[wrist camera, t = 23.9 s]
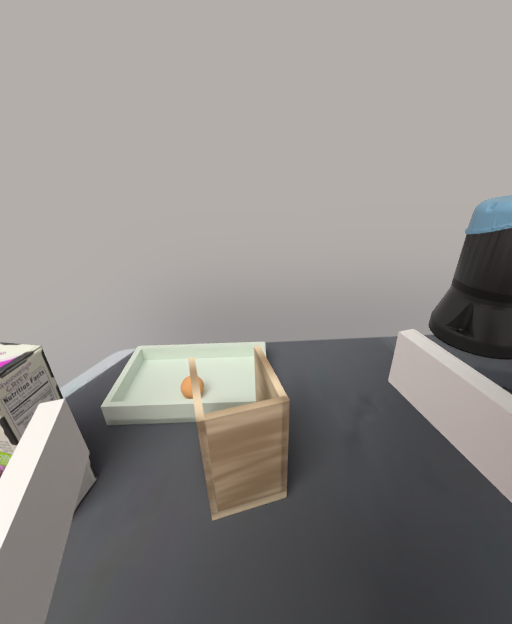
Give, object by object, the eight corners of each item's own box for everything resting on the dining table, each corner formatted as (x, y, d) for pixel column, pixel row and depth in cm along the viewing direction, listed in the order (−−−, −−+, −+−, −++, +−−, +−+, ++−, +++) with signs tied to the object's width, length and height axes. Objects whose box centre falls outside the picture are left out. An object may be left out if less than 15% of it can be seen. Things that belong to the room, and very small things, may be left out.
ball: (197, 398, 36) (212, 382, 38) (180, 381, 36) (195, 367, 38) (189, 407, 38) (203, 392, 40) (172, 391, 38) (187, 377, 40)
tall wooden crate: (286, 497, 28) (289, 400, 22) (212, 520, 26) (196, 422, 20) (261, 431, 34) (259, 345, 29) (201, 446, 33) (187, 358, 27)
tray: (264, 357, 48) (264, 341, 46) (270, 419, 36) (270, 400, 35) (141, 361, 47) (137, 346, 46) (106, 425, 36) (100, 406, 34)
